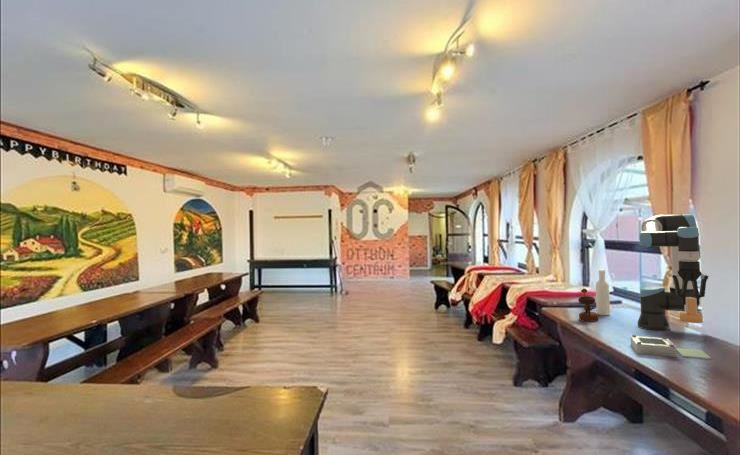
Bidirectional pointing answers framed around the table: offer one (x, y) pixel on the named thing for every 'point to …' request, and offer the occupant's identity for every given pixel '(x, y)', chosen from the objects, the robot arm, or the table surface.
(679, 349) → the mat
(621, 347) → the table surface
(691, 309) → the orange stamp
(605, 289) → the bottle
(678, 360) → the table surface
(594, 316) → the brown wooden tiered piece
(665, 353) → the housing
